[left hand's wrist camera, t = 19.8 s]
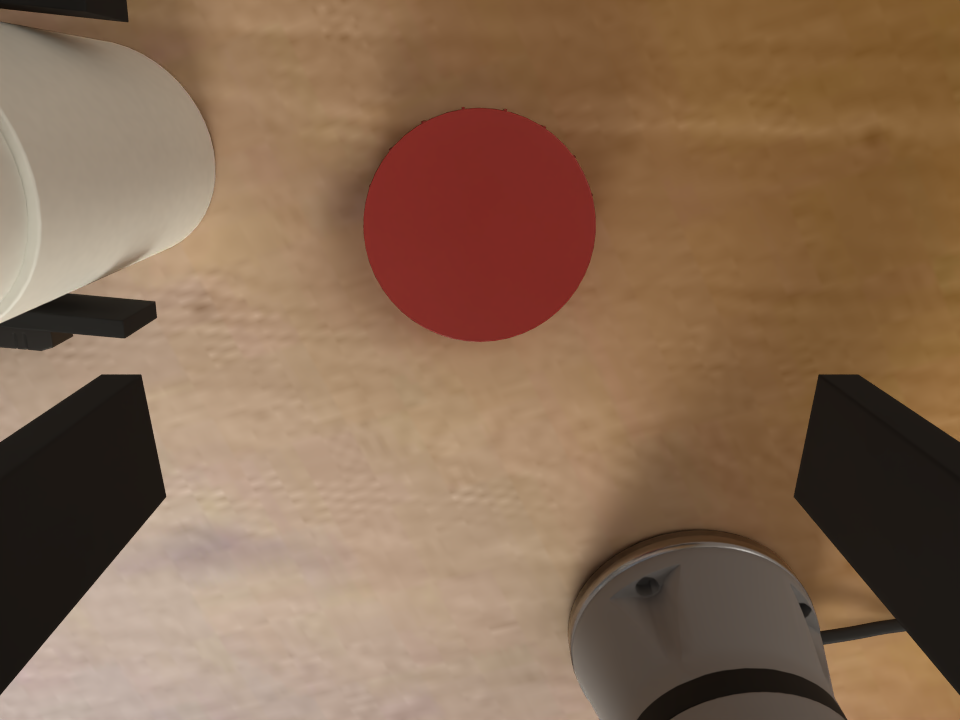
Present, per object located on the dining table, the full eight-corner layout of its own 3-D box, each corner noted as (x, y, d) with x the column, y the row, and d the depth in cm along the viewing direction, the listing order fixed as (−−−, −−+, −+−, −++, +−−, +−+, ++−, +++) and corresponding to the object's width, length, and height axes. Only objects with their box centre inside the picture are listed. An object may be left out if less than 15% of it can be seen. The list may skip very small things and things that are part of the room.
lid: (535, 356, 34) (539, 373, 32) (341, 281, 33) (331, 293, 30) (627, 163, 30) (638, 167, 28) (413, 68, 29) (408, 65, 27)
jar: (-24, 178, 31) (-457, 237, 17) (53, -10, 28) (-395, -136, 14) (162, 292, 33) (-79, 431, 19) (252, 129, 30) (46, 146, 16)
